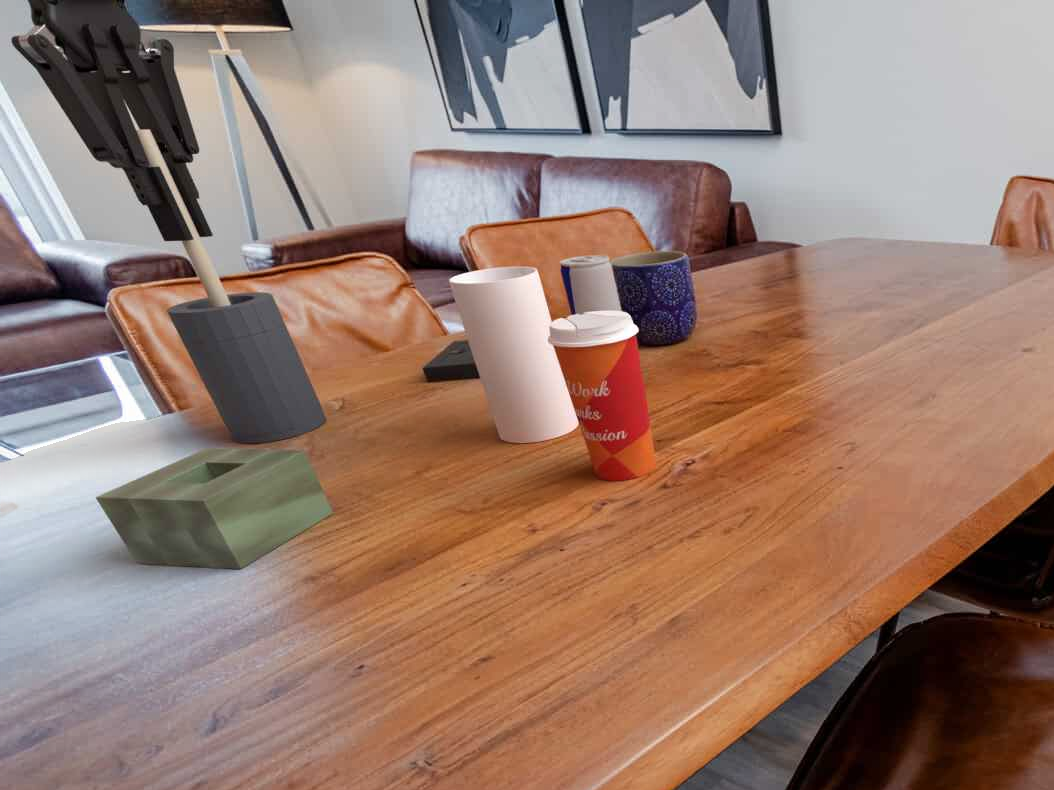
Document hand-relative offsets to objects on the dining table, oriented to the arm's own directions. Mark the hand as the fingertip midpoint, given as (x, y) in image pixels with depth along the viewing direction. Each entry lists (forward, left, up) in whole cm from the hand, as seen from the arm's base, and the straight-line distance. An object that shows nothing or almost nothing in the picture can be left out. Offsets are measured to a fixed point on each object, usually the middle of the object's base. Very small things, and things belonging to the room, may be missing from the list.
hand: (188, 238), depth 83 cm
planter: (+31, +37, -20) cm, 53 cm away
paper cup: (+47, -9, -20) cm, 52 cm away
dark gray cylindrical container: (0, 0, -20) cm, 20 cm away
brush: (0, 0, -13) cm, 13 cm away
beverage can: (+34, +15, -20) cm, 43 cm away
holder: (+19, -25, -20) cm, 37 cm away
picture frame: (+13, +26, -20) cm, 36 cm away
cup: (+32, +1, -20) cm, 38 cm away
